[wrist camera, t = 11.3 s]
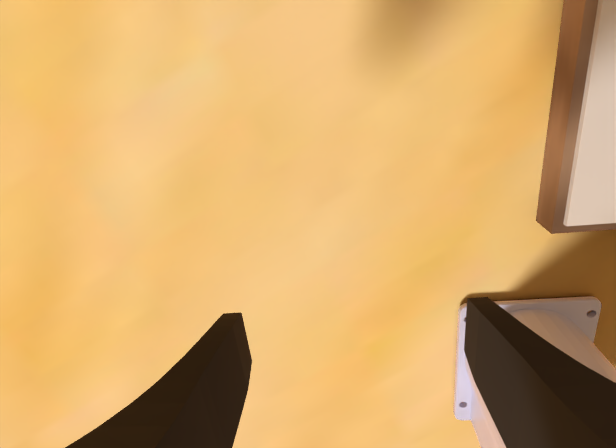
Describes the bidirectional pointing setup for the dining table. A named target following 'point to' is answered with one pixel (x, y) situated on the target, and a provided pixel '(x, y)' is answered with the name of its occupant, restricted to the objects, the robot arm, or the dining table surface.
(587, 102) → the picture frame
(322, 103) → the dining table surface
